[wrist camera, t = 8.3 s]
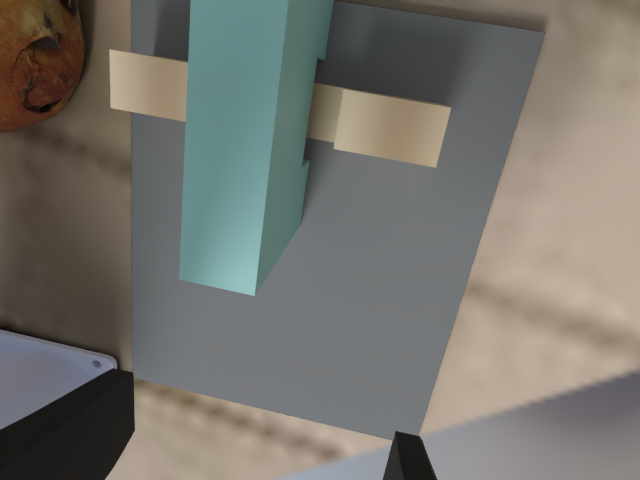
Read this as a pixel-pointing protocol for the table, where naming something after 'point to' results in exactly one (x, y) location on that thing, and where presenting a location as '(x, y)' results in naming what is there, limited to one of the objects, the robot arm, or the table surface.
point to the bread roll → (38, 59)
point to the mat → (335, 230)
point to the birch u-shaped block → (324, 118)
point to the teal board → (246, 135)
